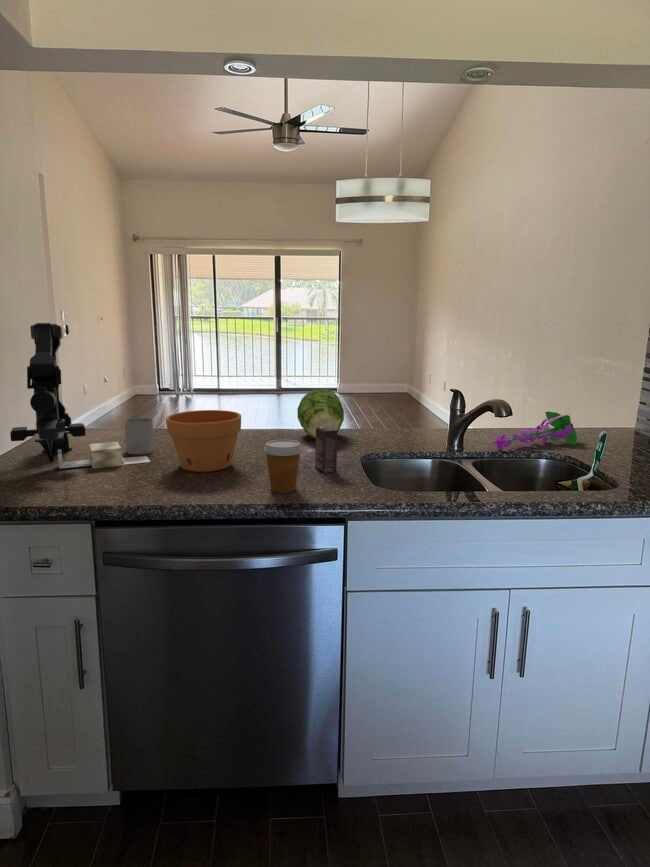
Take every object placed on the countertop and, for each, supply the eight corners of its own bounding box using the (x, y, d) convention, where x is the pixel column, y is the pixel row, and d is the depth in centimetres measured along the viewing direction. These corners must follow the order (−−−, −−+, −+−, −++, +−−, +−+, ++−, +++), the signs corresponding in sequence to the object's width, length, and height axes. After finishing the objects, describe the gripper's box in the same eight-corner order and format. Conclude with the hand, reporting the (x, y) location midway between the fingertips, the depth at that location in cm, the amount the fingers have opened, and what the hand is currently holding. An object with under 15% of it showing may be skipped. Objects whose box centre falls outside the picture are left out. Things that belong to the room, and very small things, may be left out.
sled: (59, 468, 163) (57, 453, 162) (58, 464, 167) (57, 449, 166) (124, 462, 170) (123, 447, 170) (122, 458, 175) (121, 444, 174)
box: (337, 471, 165) (338, 429, 163) (323, 473, 163) (323, 431, 161) (328, 466, 170) (328, 425, 168) (314, 467, 168) (314, 427, 166)
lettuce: (321, 462, 198) (289, 429, 192) (316, 436, 219) (287, 405, 213) (359, 432, 195) (328, 398, 189) (350, 408, 216) (322, 376, 210)
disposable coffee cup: (271, 496, 143) (271, 449, 140) (259, 485, 151) (259, 440, 149) (307, 492, 146) (307, 445, 144) (294, 481, 155) (294, 437, 152)
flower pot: (153, 471, 164) (150, 419, 160) (194, 453, 183) (192, 407, 180) (219, 479, 157) (217, 425, 153) (254, 460, 176) (253, 412, 173)
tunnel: (92, 468, 165) (91, 450, 164) (90, 461, 173) (89, 444, 172) (122, 465, 168) (121, 448, 167) (118, 458, 176) (117, 441, 175)
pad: (122, 464, 169) (122, 464, 169) (119, 459, 176) (119, 458, 175) (150, 462, 172) (150, 461, 172) (146, 456, 179) (146, 455, 179)
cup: (145, 455, 181) (144, 423, 178) (121, 453, 182) (119, 422, 180) (158, 448, 189) (157, 418, 186) (135, 447, 190) (133, 417, 188)
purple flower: (578, 453, 205) (507, 474, 189) (546, 423, 215) (476, 440, 199) (596, 427, 197) (524, 446, 181) (561, 397, 207) (490, 413, 191)
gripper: (6, 414, 150) (12, 472, 153) (84, 409, 158) (88, 465, 161) (9, 407, 160) (14, 462, 163) (82, 403, 167) (86, 456, 171)
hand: (51, 461), depth 164 cm, fingers closed
